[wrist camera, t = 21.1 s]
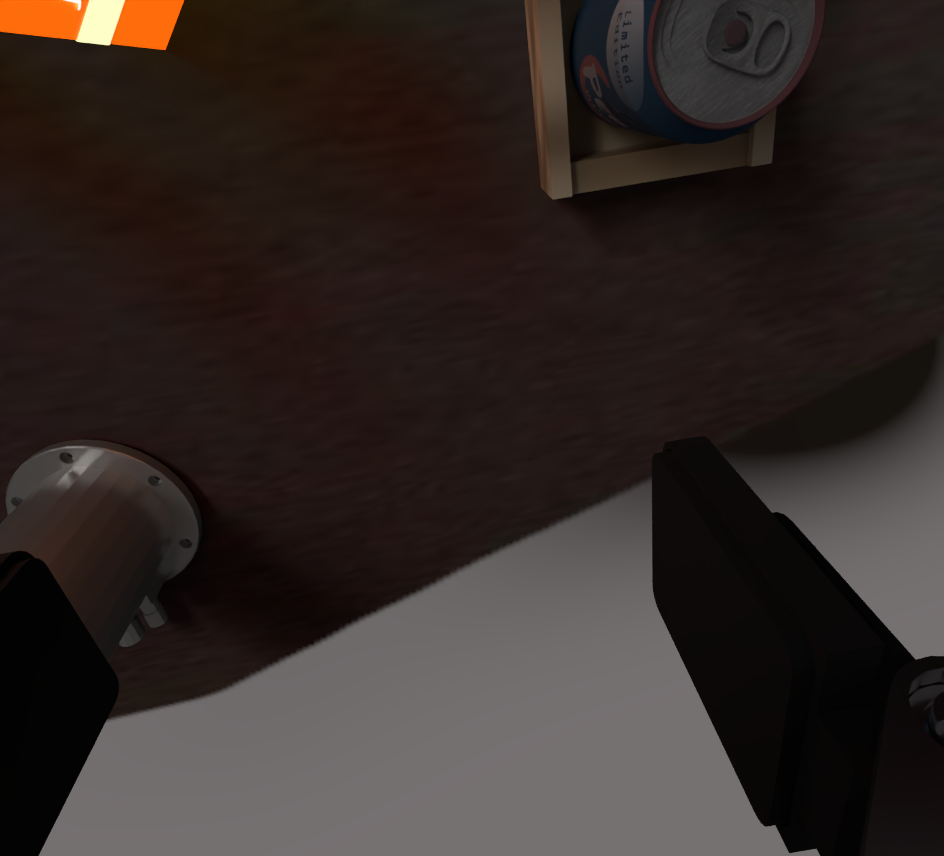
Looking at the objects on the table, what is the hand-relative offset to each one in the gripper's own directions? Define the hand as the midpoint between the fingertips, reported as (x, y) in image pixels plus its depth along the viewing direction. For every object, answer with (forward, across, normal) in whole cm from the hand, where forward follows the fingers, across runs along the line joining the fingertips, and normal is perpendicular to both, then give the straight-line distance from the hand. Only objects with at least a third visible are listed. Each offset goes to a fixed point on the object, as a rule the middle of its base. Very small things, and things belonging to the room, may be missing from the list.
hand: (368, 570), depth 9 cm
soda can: (+28, -13, -7) cm, 31 cm away
